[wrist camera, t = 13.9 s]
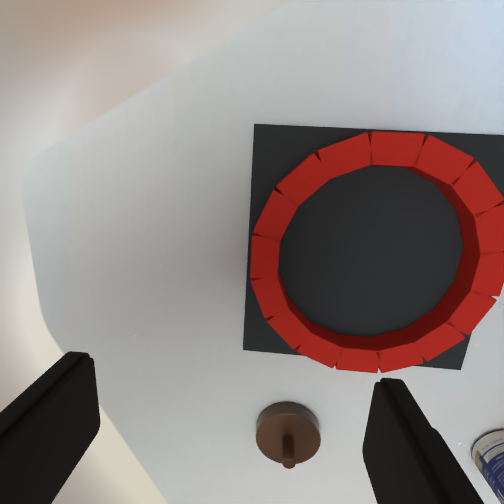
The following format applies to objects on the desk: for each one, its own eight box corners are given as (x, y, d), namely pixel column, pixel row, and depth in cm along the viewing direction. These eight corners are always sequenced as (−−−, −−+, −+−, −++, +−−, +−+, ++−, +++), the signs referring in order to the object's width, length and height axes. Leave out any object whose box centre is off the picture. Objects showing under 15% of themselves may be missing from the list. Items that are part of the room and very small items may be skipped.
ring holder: (255, 447, 32) (252, 485, 28) (258, 398, 30) (256, 432, 27) (315, 454, 32) (320, 493, 28) (322, 405, 30) (328, 440, 26)
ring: (247, 346, 28) (245, 361, 26) (259, 129, 23) (257, 126, 21) (458, 365, 27) (473, 382, 25) (522, 141, 22) (548, 138, 20)
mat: (243, 347, 29) (243, 350, 28) (254, 124, 23) (254, 124, 23) (458, 367, 28) (460, 370, 27) (524, 137, 22) (529, 136, 22)
